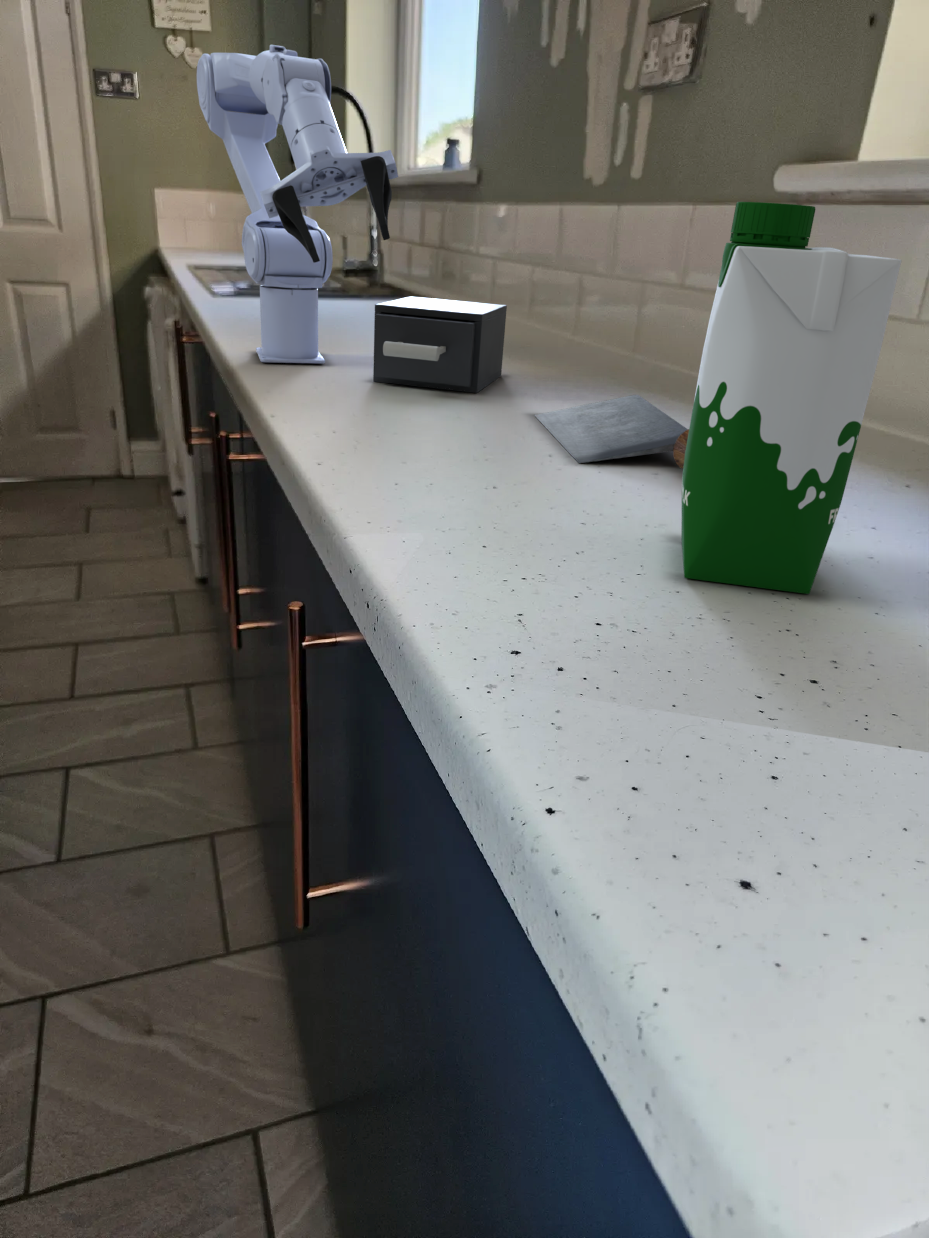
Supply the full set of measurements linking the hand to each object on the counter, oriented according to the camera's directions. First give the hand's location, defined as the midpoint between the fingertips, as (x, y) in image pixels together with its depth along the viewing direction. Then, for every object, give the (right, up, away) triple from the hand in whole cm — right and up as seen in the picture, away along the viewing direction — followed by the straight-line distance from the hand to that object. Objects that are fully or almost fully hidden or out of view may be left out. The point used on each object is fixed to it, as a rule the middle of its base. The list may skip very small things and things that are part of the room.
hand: (349, 244), depth 90 cm
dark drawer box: (+8, -10, +13) cm, 18 cm away
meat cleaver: (+27, -25, -13) cm, 39 cm away
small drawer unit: (+9, -9, +17) cm, 21 cm away
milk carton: (+29, -36, -36) cm, 58 cm away
